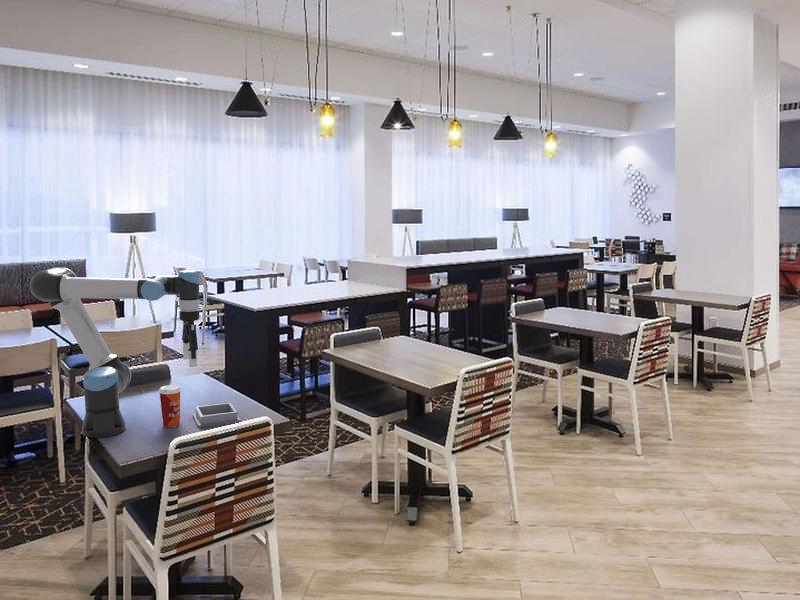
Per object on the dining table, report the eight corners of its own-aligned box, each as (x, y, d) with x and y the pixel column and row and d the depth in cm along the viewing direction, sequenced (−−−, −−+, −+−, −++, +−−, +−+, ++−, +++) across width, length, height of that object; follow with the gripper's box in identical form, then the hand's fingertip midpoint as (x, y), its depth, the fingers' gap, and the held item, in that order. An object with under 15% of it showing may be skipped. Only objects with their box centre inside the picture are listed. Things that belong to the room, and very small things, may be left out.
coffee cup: (175, 429, 256) (173, 391, 254) (156, 427, 257) (154, 389, 255) (186, 422, 264) (185, 385, 262) (167, 420, 266) (165, 383, 263)
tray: (198, 428, 257) (198, 417, 257) (192, 415, 272) (192, 406, 271) (240, 422, 264) (240, 412, 263) (232, 410, 278) (232, 401, 278)
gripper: (205, 314, 254) (206, 369, 257) (193, 304, 276) (193, 355, 279) (185, 315, 251) (185, 370, 254) (174, 305, 273) (174, 356, 276)
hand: (189, 362), depth 267 cm, fingers open, 13 cm apart
